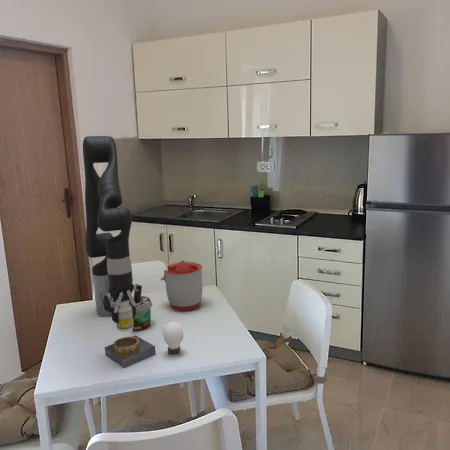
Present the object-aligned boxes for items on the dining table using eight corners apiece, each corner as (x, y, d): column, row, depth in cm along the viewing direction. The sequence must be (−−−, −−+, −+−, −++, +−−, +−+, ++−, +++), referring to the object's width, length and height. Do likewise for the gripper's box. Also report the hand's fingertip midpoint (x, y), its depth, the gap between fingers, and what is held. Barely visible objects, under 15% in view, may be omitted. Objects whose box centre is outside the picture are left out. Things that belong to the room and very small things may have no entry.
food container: (147, 333, 172) (144, 308, 170) (131, 332, 173) (128, 307, 171) (158, 319, 183) (156, 295, 181) (143, 319, 185) (141, 295, 183)
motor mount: (105, 355, 157) (103, 341, 156) (136, 343, 164) (135, 330, 163) (123, 368, 148) (122, 353, 147) (155, 354, 156) (154, 340, 155)
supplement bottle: (132, 331, 151) (129, 303, 149) (115, 332, 151) (112, 303, 149) (134, 324, 156) (132, 296, 154) (118, 325, 156) (115, 297, 154)
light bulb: (166, 359, 152) (163, 327, 150) (162, 349, 159) (160, 319, 156) (186, 355, 154) (184, 324, 152) (182, 346, 160) (180, 316, 158)
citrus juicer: (168, 299, 205) (164, 255, 201) (207, 299, 202) (204, 254, 198) (158, 313, 190) (154, 266, 186) (200, 314, 187) (197, 266, 183)
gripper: (133, 262, 157) (137, 310, 160) (93, 273, 147) (98, 323, 151) (145, 267, 151) (149, 316, 155) (104, 278, 142) (110, 330, 145)
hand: (124, 319), depth 153 cm, fingers closed on supplement bottle, 5 cm apart
